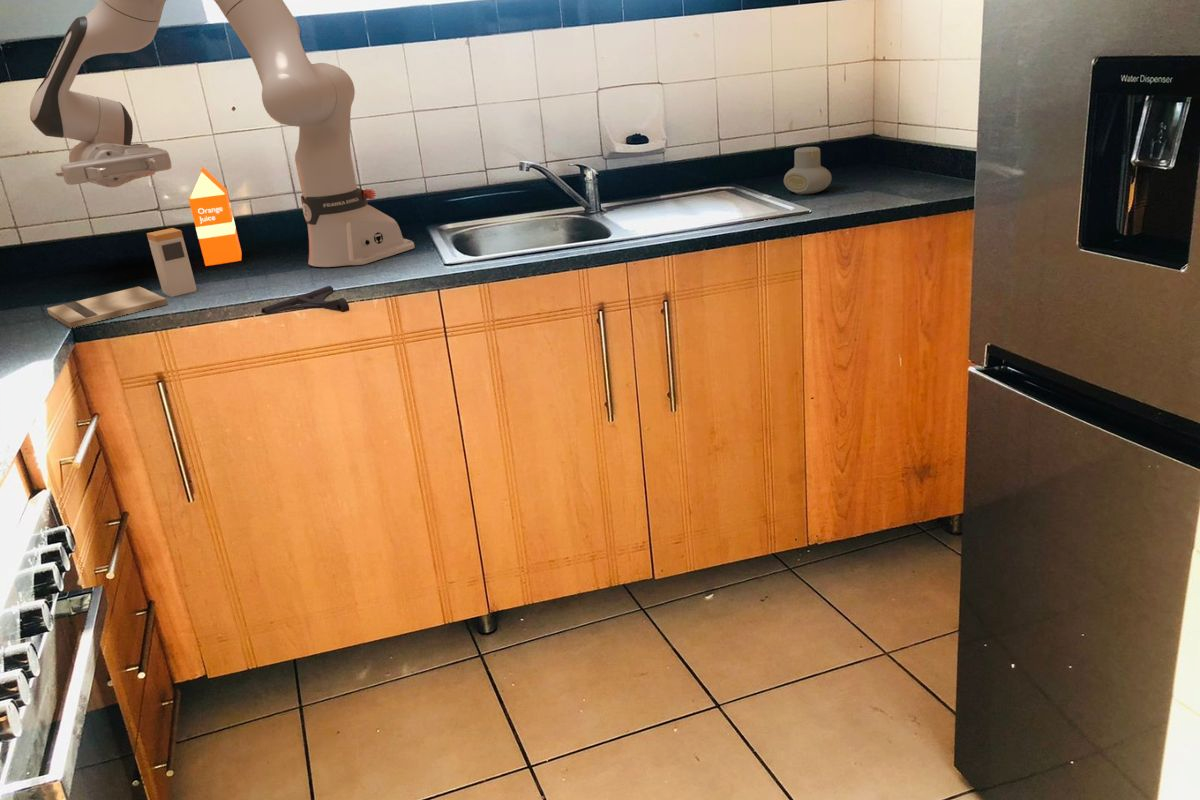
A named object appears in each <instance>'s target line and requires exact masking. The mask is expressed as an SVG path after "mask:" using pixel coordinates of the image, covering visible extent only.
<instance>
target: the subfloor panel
mask: <svg viewBox="0 0 1200 800" xmlns="http://www.w3.org/2000/svg"><path fill="white" fill-rule="evenodd" d="M164 305H165V306H168V299H167V298H165V297H164V296H162V295H160V294H157V293H155V292H153V291H151V290H148V289H146V288H144V287H141V286H135V287H131V288H127V289H122V290H119V291H113V292H109V293H106V294H101V295H97V296H93V297H88V298H84V299H80V300H75V301H72V302H67V303H62V304H59V305H54V306H50V307H46V310H47V313H48V315H49V316H50V317H52V318H53V319H55V320H56V319H57V321H58V322H59V321H60V323H61V322H62V323H64V324H65V325H67V326H69V327H73V329H77V328H78V327H77V326H81V327H83V326H82V325H85V324H89V323H93V322H97V321H101V320H105V319H109V318H112V317H117V318H119V317H118V316H121V317H123V316H122V315H125V316H127V315H126V314H129V315H131V314H130V313H133V314H135V313H134V312H137V313H139V312H138V311H141V312H143V310H145V311H148V310H147V309H149V310H152V308H153V309H156V308H155V307H157V308H160V307H159V306H161V307H164ZM109 320H110V319H109ZM105 321H106V320H105ZM101 322H102V321H101ZM62 323H61V324H62ZM97 323H98V322H97ZM64 324H63V325H64ZM93 324H94V323H93ZM65 325H64V326H65ZM89 325H90V324H89ZM67 326H66V327H67ZM85 326H86V325H85ZM76 327H77V328H76Z"/></svg>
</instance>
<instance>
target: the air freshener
mask: <svg viewBox="0 0 1200 800" xmlns="http://www.w3.org/2000/svg"><path fill="white" fill-rule="evenodd" d="M793 151H794V166H793V168H790V169H789V170H788V171H787V172H786V173H785V175H784V178H783V185H784V186H785V187H786V189H787V190H788V191H790V192H792V193H794V194H796V195H803V196H804V195H811V194H817V193H820V192H822V191H824V190H826V189H827V188H828V187H829V185H830V184H831V182H832V179H833V177H832V173H831V172H830V170H829V169H827V168H826V167H824V166H822V165H821V148H819V147H818V146H805V147H803V146H802V147H798V148H796V149H795V150H793Z"/></svg>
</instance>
